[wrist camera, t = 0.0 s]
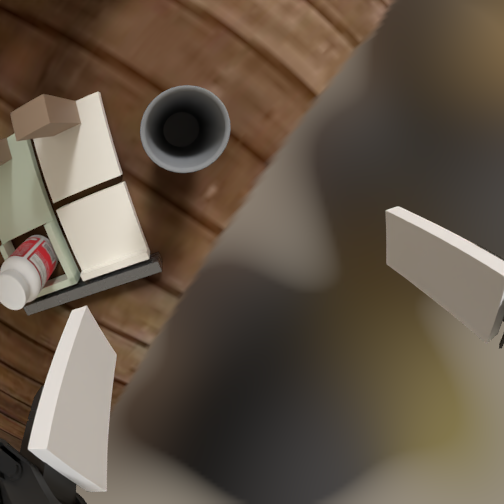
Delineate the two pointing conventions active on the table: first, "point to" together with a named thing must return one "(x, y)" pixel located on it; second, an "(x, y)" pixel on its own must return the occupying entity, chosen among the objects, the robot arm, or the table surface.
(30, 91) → the table surface
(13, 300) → the pill bottle
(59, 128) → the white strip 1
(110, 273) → the end bar
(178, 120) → the cup
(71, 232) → the white strip
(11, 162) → the pale green stand
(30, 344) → the table surface
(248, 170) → the table surface
